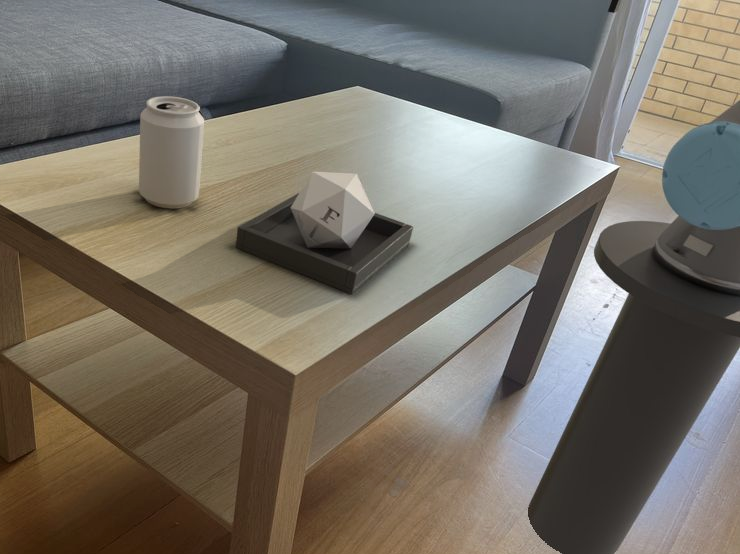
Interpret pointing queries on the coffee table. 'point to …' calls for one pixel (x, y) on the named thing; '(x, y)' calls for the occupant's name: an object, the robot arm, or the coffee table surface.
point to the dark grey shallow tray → (328, 265)
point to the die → (332, 210)
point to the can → (170, 151)
